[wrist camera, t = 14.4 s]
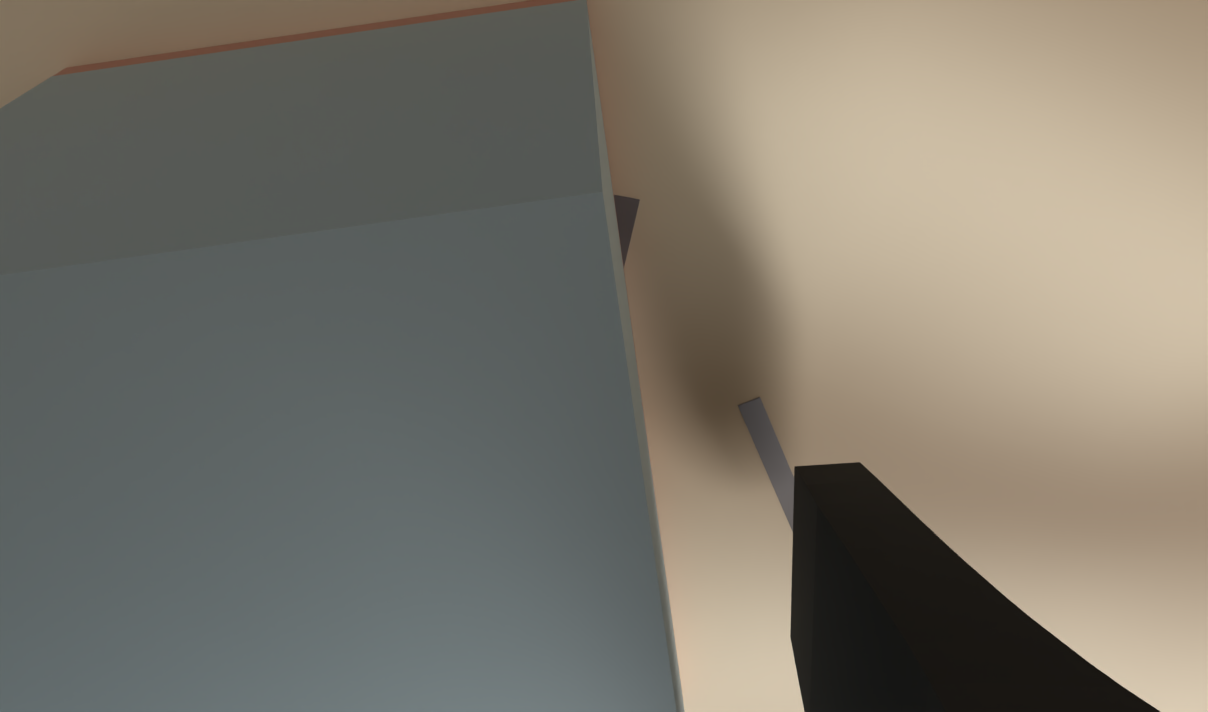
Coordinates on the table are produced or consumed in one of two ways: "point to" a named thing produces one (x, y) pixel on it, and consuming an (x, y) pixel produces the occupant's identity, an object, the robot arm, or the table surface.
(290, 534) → the block
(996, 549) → the birch board
